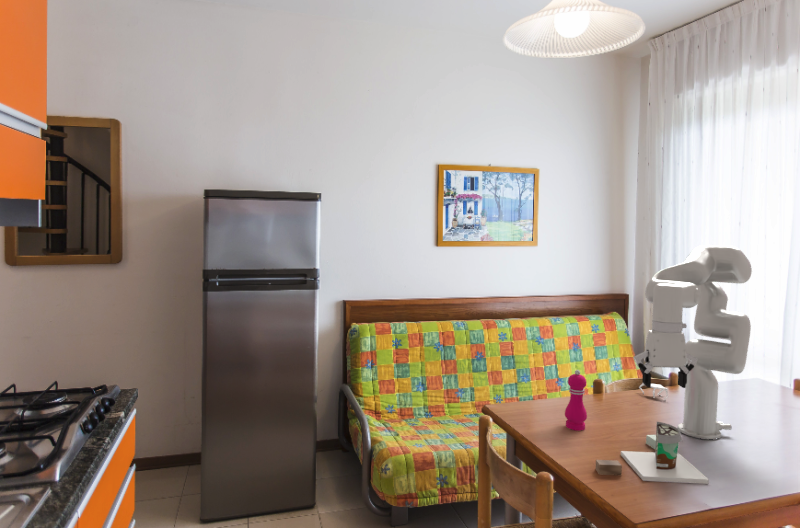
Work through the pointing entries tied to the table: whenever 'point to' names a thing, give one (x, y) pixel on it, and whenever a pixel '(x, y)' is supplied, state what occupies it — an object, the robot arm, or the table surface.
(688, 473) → the platter
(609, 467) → the walnut block
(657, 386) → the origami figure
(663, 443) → the food container
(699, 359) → the robot arm
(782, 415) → the table surface
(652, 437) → the sage block
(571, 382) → the pepper mill
